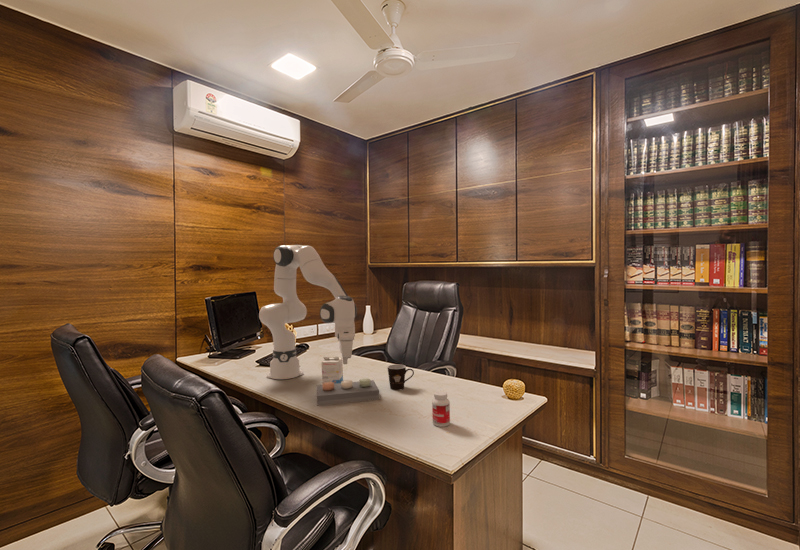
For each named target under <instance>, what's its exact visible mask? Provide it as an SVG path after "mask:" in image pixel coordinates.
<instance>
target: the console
mask: <svg viewBox="0 0 800 550" xmlns="http://www.w3.org/2000/svg"><path fill="white" fill-rule="evenodd" d="M370 380H371V379H370ZM376 400H377V401H378V400H380V389H379V387H378V386H377V384H376V382H375V380H373V379H372V380H371V385H370V386H368V387H361V386H359V381H353V387H352V388H350V389H343V388H341V383H337V384H334V389H333V390H328V391H326V390H323V385H322V384H317V385H316V406H319V407H320V405H321V406H330V405H337V404H338V405H340V404H347V403H357V402H358V403H359V402H368V401H376Z"/></svg>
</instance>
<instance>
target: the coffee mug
mask: <svg viewBox="0 0 800 550" xmlns="http://www.w3.org/2000/svg"><path fill="white" fill-rule="evenodd" d="M406 368H407V366H406V365H404V364H398V363H396V364H389V365H387V373H388V379H389V380H388V382H389V386H390V387H389V388H390V390H393V391H401V390H403V389H405V383H406V382H407V381H409V380H410V379H411V378H412V377H413V376H414V374H415V373H414V369H413V368H407V369H406ZM408 371H412V374H411V375H410V376H409V377H408V378H406V374H407V373H408Z"/></svg>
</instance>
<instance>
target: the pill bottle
mask: <svg viewBox="0 0 800 550" xmlns="http://www.w3.org/2000/svg"><path fill="white" fill-rule="evenodd" d="M433 397H434V398H433V399H432V401H431V402H432V403H431V404H432V406H431V407H432V409H431V410H432V413H431V414H432V415H431V417H432V424H433V425H434V426H436V427H439V428H445V427H448V426H450V424H451V411H450V410H451V409H450V407H451V406H450V404H451V402H450V400H449V398H448V392H446V391H444V390H443V391H442V390H436V391H435V392H433Z"/></svg>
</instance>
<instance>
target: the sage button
mask: <svg viewBox="0 0 800 550" xmlns="http://www.w3.org/2000/svg"><path fill="white" fill-rule="evenodd" d="M358 382H359V386H361V387H368V386H370V385H371V379H370V378H361V379H359V380H358Z"/></svg>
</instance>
